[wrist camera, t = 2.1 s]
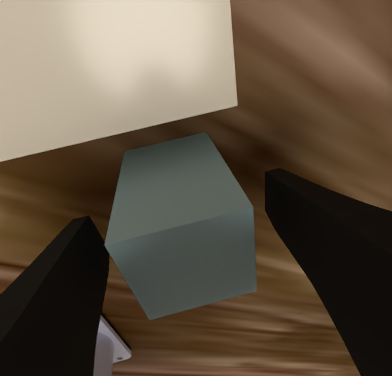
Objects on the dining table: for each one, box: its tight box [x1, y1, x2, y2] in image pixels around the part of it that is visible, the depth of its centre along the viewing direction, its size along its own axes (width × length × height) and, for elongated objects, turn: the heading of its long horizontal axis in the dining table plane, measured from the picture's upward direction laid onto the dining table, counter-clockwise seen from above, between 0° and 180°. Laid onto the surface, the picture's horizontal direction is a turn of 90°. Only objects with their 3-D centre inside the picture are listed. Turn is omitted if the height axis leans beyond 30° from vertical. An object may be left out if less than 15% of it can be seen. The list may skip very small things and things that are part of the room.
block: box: [104, 132, 257, 320], centre depth 10 cm, size 4×4×6 cm
